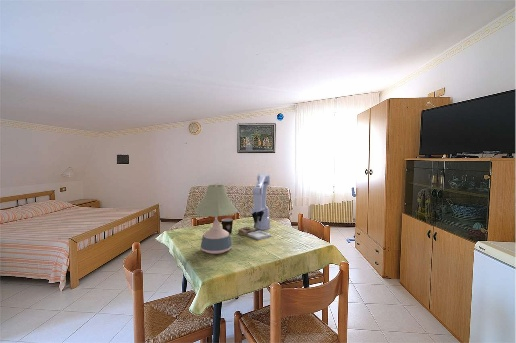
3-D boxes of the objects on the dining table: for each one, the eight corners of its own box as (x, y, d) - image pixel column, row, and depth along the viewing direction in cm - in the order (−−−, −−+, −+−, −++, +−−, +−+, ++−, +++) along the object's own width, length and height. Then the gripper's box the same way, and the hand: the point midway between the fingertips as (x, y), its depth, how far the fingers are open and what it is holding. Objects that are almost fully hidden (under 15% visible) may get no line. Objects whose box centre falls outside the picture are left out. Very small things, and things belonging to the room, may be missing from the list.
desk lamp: (195, 261, 135) (195, 186, 133) (194, 244, 163) (193, 181, 160) (241, 256, 143) (241, 185, 140) (232, 240, 170) (232, 180, 168)
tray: (260, 232, 189) (260, 230, 189) (270, 236, 179) (270, 234, 179) (247, 235, 181) (247, 233, 181) (257, 240, 172) (257, 237, 172)
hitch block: (248, 230, 193) (248, 226, 193) (255, 233, 187) (255, 229, 187) (238, 233, 187) (238, 229, 187) (244, 235, 181) (244, 231, 181)
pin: (255, 226, 184) (257, 214, 183) (259, 228, 181) (261, 216, 181) (252, 227, 181) (253, 215, 180) (256, 229, 178) (257, 217, 178)
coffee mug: (234, 231, 192) (234, 218, 191) (231, 234, 183) (231, 221, 183) (219, 230, 193) (219, 218, 192) (216, 234, 184) (216, 221, 184)
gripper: (260, 201, 188) (259, 219, 189) (246, 204, 177) (246, 222, 178) (267, 202, 183) (267, 220, 184) (254, 205, 172) (253, 224, 173)
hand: (257, 221), depth 180 cm, fingers closed on pin, 4 cm apart
